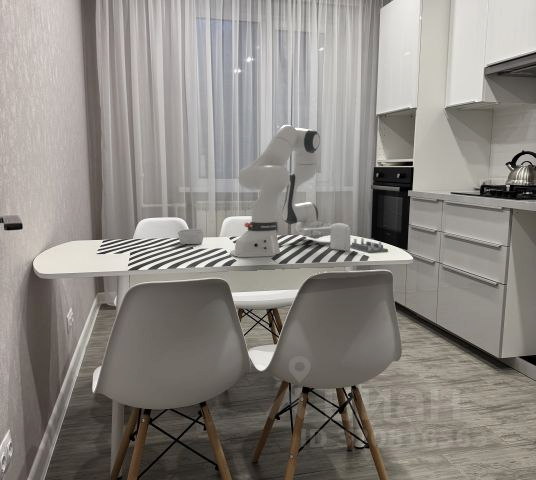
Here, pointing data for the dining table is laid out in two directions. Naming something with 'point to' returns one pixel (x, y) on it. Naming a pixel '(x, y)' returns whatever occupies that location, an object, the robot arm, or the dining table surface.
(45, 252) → the dining table surface
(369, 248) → the dock
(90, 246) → the dining table surface
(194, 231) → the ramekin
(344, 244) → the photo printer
